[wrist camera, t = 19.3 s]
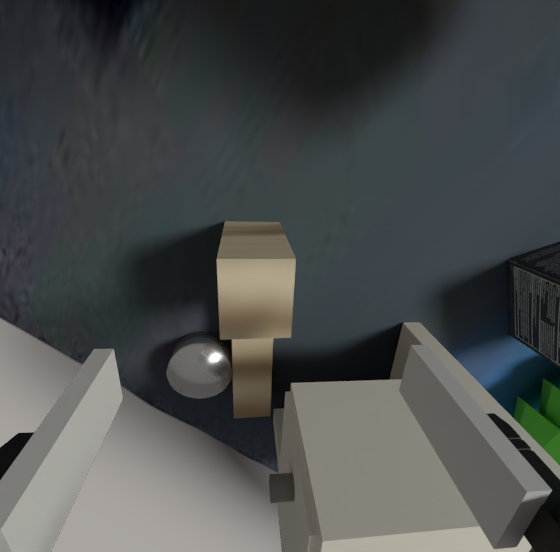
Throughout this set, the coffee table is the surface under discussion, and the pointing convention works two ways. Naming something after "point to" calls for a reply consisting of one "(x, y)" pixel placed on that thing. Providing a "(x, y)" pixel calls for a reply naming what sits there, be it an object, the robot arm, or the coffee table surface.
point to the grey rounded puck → (200, 365)
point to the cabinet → (374, 466)
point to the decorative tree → (542, 419)
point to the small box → (536, 301)
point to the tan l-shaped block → (254, 307)
